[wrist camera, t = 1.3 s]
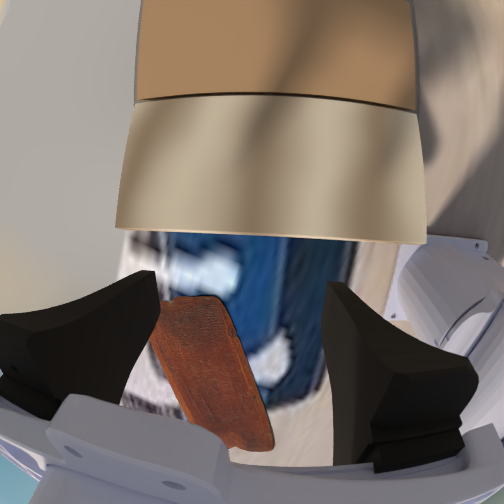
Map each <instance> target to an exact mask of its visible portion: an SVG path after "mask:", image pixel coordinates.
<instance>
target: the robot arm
mask: <svg viewBox="0 0 504 504" xmlns="http://www.w3.org/2000/svg"><path fill="white" fill-rule="evenodd" d="M476 244H477V246H476V247H475V245H476ZM487 249H488V242H487V241H485V240H479V239H470V238H461V237H451V236H441V235H431V234H427V242H426V244H419V245H408V244H399V249H398V254H397V258H396V263H395V267H394V272H393V276H392V280H391V284H390V288H389V292H388V296H387V299H386V303H385V307H384V310H383V314H382V316H383V317H381V316H380V315H379V314H377V313H376V312H375V311H374V310H373V309H371V308H370V307H369V306H368V305H367V304H366V303H364V302H363V301H362V300H361V299H360V298H359V297H358V296H357V295H356V294H355V293H354V292H353V291H352V290H351V289H349V288H348V287H347V286H346V285H345V284H344V283H343V282H329V281H327V288H326V294H325V300H324V307H323V312H322V318H321V334H322V344H323V349H324V354H325V359H326V364H327V369H328V374H329V379H330V384H331V391H332V403H333V429H334V446H333V466H322V467H276V466H257V465H245V464H239V463H235V462H231V461H230V458H229V450H228V449H227V447H226V446H225V444H224V443H223V441H222V440H221V439H220V438H219V437H218V436H217V435H215V434H214V433H212V432H210V431H208V430H207V429H205V428H203V427H202V426H199V425H196V424H193V423H189V422H186V421H183V420H179V419H175V418H170V417H165V416H160V415H156V414H151V413H147V412H143V411H139V410H135V409H131V408H127V407H123V406H120V405H119V403H120V400H121V397H122V394H123V391H124V388H125V386H126V383H127V380H128V378H129V375H130V373H131V371H132V369H133V367H134V365H135V363H136V361H137V359H138V357H139V356H140V354H141V352H142V350H143V348H144V347H145V345H146V343H147V341H148V340H149V338H150V336H151V334H152V332H153V330H154V328H155V326H156V323H157V321H158V318H159V315H160V313H161V307H160V302H159V295H158V289H157V283H156V276H155V271H146V270H141V271H138V272H136V273H133V274H131V275H129V276H127V277H125V278H123V279H121V280H119V281H117V282H115V283H113V284H111V285H109V286H107V287H105V288H103V289H101V290H98V291H96V292H94V293H92V294H90V295H87V296H85V297H83V298H81V299H78V300H75V301H72V302H69V303H66V304H63V305H59V306H55V307H51V308H48V309H43V310H38V311H32V312H26V313H14V314H1V315H0V369H1V371H2V372H3V375H2V376H1V377H0V454H2V455H3V456H4V457H6V458H7V459H8V460H10V461H11V462H12V463H14V464H15V465H16V466H18V467H19V468H21V469H22V470H23V471H25V472H26V473H27V474H29V475H30V476H32V477H33V478H35V479H36V480H38V481H39V484H38V486H37V488H36V490H35V492H34V494H33V496H32V498H31V500H30V502H29V504H480V503H481V502H483V501H484V500H486V499H487V498H489V497H490V496H491V495H493V494H494V493H496V492H497V491H498V490H500V489H501V488H502V487H503V486H504V267H503V266H502V265H500V264H499V263H498V262H497V261H496V260H494V259H493V258H492V257H491V256H489V255H488V254H487ZM392 314H395V315H393V316H391V315H392ZM394 320H409V322H410V324H411V326H412V328H413V330H414V332H415V333H416V335H417V337H418V339H419V340H418V339H416V338H414V337H412V336H411V335H409V334H407V333H405V332H403V331H402V330H400V329H399V328H397V327H395V326H394V325H392V324H391V323H389V322H388V321H394Z"/></svg>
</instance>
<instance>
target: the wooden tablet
mask: <svg viewBox="0 0 504 504" xmlns="http://www.w3.org/2000/svg"><path fill="white" fill-rule="evenodd" d="M160 307H161V313H160V315H159V318H158V321H157V323H156V326H155V328H154V330H153V332H152V334H151V336H150V338H149V340H150V342H151V345H152V347H153V349H154V351H155V353H156V356H157V358H158V359H159V361H160V364H161V366H162V368H163V370H164V372H165V375H166V377H167V379H168V381H169V384H170V385H171V387H172V389H173V391H174V394H175V396H176V398H177V400H178V402H179V404H180V406H181V408H182V410H183V412H184V414H185V416H186V417H187V419H188V421H189V422H190V423H193V424H196V425H199V426H202V427H203V428H205V429H207V430H208V431H210V432H212V433H214V434H215V435H217V436H218V437H219V438H220V439H221V440H222V441H223V443H224V444H225V446H226V447H227V449H230V448H232V447H238V448H240V449H242V450H246V451H252V452H265V451H271V450H273V448H274V443H273V436H272V431H271V427H270V423H269V420H268V417H267V414H266V411H265V408H264V405H263V402H262V400H261V397H260V394H259V392H258V389H257V386H256V383H255V380H254V378H253V375H252V372H251V370H250V367H249V365H248V362H247V359H246V356H245V353H244V351H243V348H242V345H241V342H240V340H239V338H238V336H237V335H236V330H235V328H234V325H233V323H232V320H231V318H230V316H229V314H228V312H227V310H226V308H225V307H224V305H223V304H222V302H221V301H220V300H219V299H218V298H216V297H213V296H209V297H206V296H198V297H187V296H182V297H175V298H173V301H171V302H169V301H160Z"/></svg>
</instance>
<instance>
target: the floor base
mask: <svg viewBox="0 0 504 504" xmlns="http://www.w3.org/2000/svg"><path fill="white" fill-rule="evenodd" d="M237 95H258V96H289V97H305V98H317V99H327V100H337V101H345V102H352V103H360V104H366V105H372V106H378V107H384V108H389V109H395V110H400V111H404V112H409V113H413V114H417V120H418V116H419V67H418V48H417V35H416V25H415V16H414V8H413V1H412V0H141V6H140V14H139V23H138V33H137V45H136V59H135V82H134V106H135V104H136V103H143V102H151V101H159V100H168V99H178V98H191V97H207V96H237Z"/></svg>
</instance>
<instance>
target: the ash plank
mask: <svg viewBox="0 0 504 504" xmlns="http://www.w3.org/2000/svg"><path fill="white" fill-rule="evenodd" d="M115 227H116V228H120V229H124V230H141V231H170V232H196V233H219V234H241V235H262V236H281V237H299V238H317V239H334V240H350V241H365V242H380V243H394V244H408V245H419V244H426V242H427V221H426V193H425V178H424V166H423V156H422V147H421V140H420V132H419V126H418V120H417V114H413V113H409V112H404V111H400V110H395V109H389V108H384V107H378V106H372V105H366V104H360V103H352V102H345V101H337V100H327V99H317V98H305V97H289V96H258V95H237V96H207V97H191V98H178V99H168V100H159V101H151V102H143V103H136V104H135V106H134V111H133V115H132V120H131V125H130V129H129V135H128V139H127V144H126V151H125V156H124V162H123V168H122V175H121V181H120V189H119V197H118V206H117V214H116V225H115Z"/></svg>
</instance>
